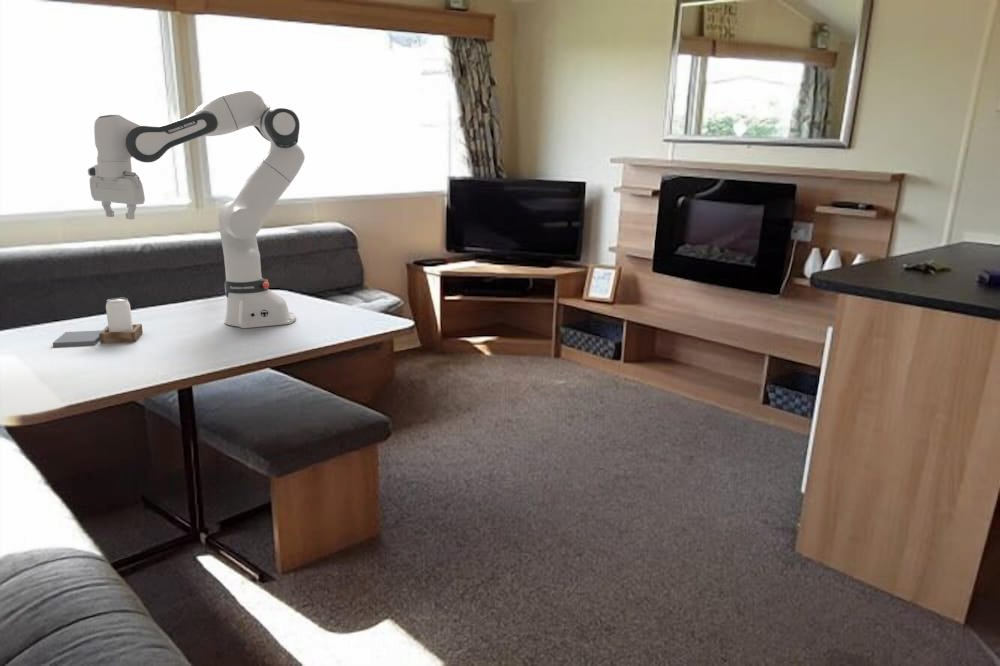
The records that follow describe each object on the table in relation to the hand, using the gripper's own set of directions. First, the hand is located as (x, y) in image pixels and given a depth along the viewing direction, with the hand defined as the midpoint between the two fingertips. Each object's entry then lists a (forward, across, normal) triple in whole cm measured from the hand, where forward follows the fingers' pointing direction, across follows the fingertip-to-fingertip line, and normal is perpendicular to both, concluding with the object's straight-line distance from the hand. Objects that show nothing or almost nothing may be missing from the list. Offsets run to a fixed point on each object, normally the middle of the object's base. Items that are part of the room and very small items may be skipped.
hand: (120, 217), depth 221 cm
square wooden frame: (+35, -4, +6) cm, 36 cm away
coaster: (+36, +5, +14) cm, 39 cm away
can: (+36, -4, +6) cm, 36 cm away
